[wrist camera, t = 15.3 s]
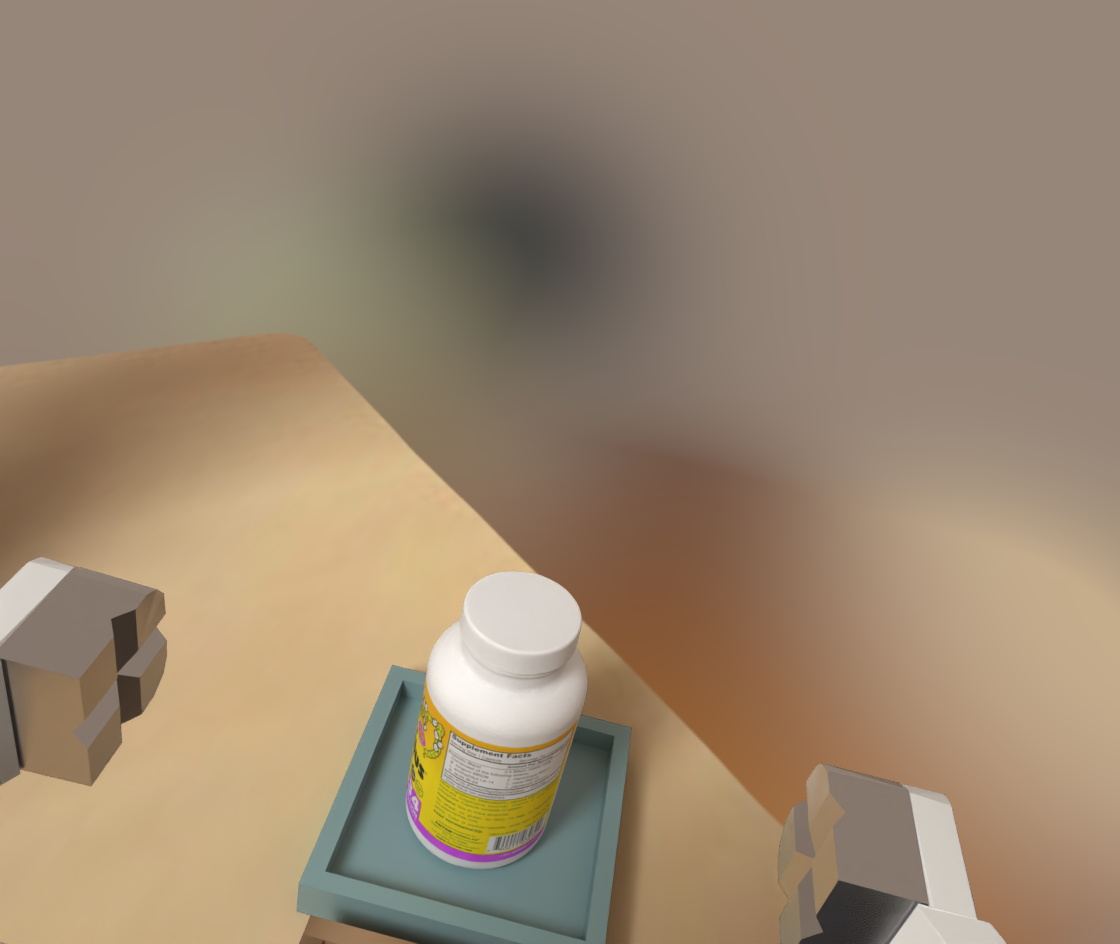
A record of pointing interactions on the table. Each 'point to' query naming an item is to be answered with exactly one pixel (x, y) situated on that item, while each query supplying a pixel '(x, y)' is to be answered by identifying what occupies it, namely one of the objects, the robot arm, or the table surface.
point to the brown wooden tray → (342, 934)
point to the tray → (453, 891)
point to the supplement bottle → (497, 721)
